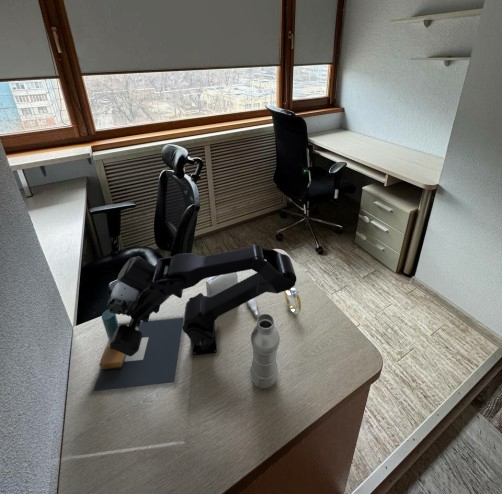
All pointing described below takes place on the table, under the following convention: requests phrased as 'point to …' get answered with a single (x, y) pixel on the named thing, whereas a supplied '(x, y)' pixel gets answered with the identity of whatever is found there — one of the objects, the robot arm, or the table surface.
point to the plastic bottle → (264, 352)
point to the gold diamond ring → (293, 295)
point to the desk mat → (148, 357)
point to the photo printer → (220, 283)
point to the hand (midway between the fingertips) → (116, 329)
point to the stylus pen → (253, 306)
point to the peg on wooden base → (110, 357)
